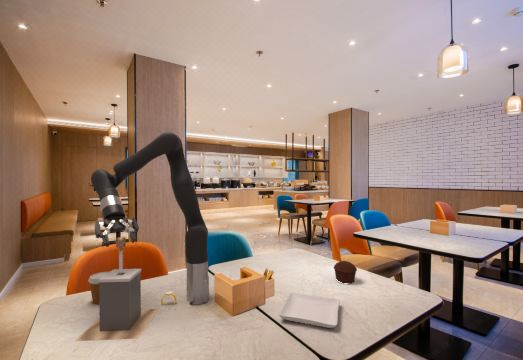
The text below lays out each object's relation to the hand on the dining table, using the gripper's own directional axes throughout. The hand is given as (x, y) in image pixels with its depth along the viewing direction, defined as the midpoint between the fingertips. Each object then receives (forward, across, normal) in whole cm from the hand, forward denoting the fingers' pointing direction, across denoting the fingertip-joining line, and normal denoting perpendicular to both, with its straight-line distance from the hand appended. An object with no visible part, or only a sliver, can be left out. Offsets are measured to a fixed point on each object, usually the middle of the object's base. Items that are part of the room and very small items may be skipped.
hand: (121, 243), depth 96 cm
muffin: (+46, +98, -3) cm, 108 cm away
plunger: (+13, 0, +13) cm, 19 cm away
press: (+20, 0, +21) cm, 29 cm away
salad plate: (+52, +57, -8) cm, 77 cm away
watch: (+20, +19, +23) cm, 36 cm away
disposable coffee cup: (+3, -1, +40) cm, 40 cm away
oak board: (+21, 0, +22) cm, 30 cm away
